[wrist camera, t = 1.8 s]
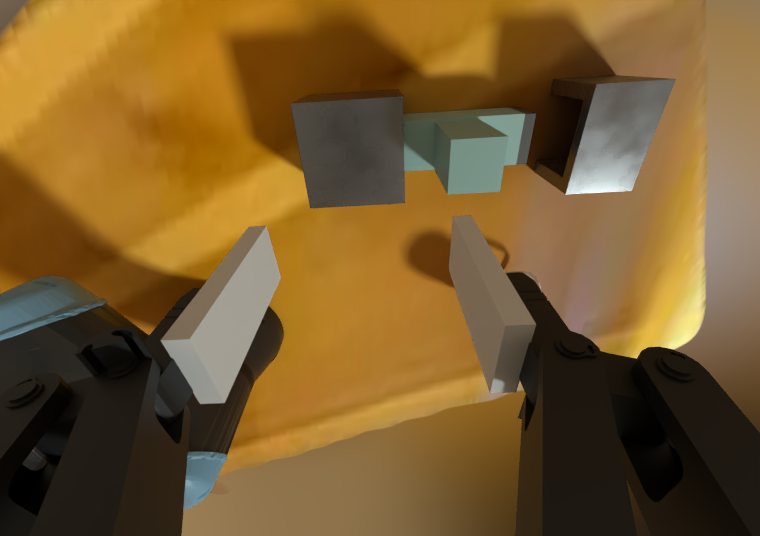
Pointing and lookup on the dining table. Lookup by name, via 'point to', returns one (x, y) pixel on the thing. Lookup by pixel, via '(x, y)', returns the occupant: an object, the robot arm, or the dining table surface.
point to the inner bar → (468, 145)
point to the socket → (607, 132)
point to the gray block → (352, 147)
